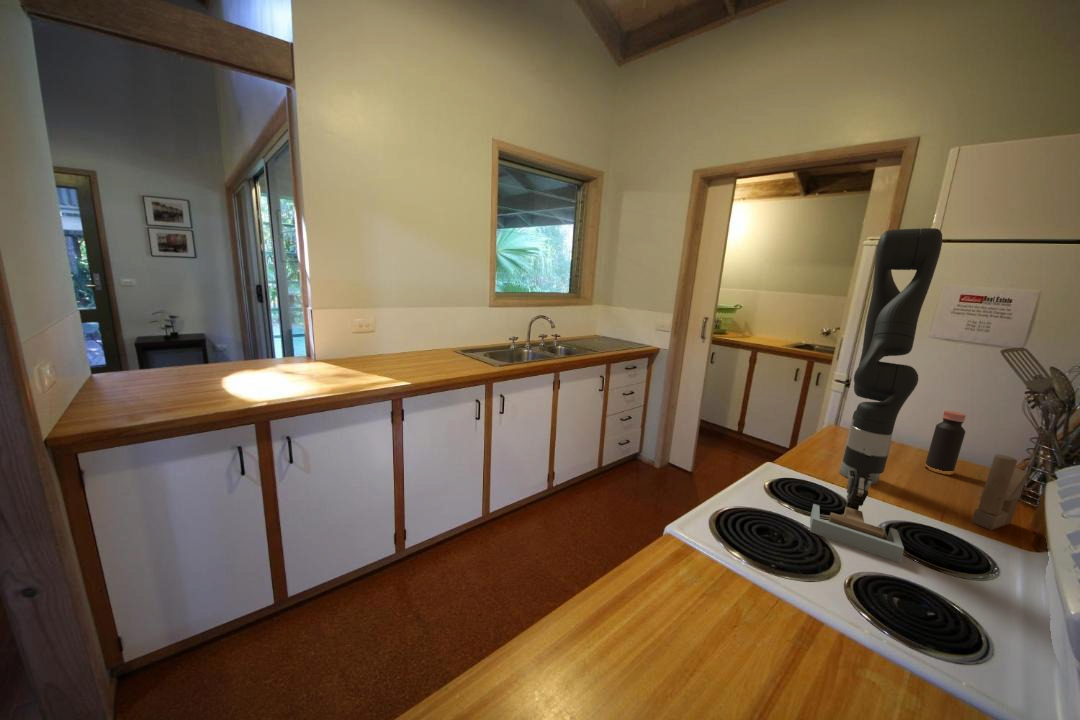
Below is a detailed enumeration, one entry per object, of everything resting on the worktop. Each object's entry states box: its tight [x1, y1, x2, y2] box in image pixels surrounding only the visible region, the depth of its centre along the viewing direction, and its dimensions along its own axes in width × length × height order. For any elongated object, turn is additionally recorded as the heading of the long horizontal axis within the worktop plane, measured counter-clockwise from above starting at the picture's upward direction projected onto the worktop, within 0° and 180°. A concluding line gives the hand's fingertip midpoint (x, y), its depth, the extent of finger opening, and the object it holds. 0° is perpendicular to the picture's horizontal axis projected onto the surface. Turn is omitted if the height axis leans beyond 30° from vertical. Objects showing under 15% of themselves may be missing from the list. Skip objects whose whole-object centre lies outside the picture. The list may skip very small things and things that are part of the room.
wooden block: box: [971, 453, 1029, 531], centre depth 99 cm, size 4×11×18 cm, turn 113°
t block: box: [828, 506, 885, 539], centre depth 89 cm, size 9×9×4 cm
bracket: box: [809, 503, 905, 564], centre depth 88 cm, size 8×15×3 cm, turn 55°
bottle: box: [925, 410, 967, 472], centre depth 130 cm, size 7×7×20 cm
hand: (849, 516), depth 95 cm, fingers closed
